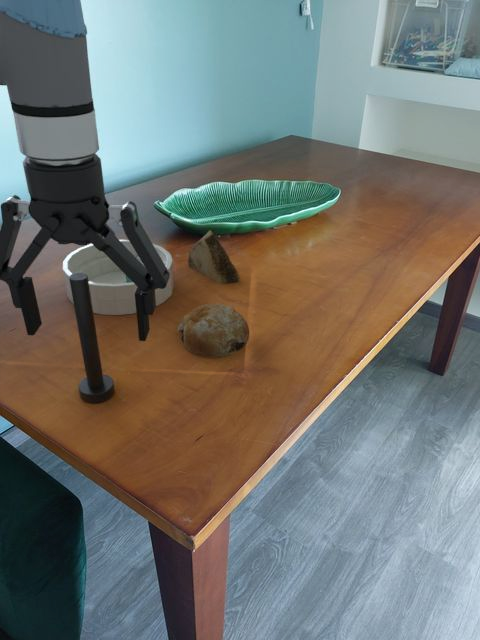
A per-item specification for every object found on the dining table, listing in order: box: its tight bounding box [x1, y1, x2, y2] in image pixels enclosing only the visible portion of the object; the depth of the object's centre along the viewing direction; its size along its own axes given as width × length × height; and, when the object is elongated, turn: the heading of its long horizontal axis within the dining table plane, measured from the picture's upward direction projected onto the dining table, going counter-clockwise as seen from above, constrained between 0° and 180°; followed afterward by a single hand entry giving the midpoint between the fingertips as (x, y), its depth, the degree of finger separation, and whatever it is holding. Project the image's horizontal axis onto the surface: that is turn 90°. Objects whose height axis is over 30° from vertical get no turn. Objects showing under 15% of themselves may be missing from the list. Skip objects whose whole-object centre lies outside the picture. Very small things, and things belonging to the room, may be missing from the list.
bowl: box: [62, 239, 175, 316], centre depth 91 cm, size 18×18×6 cm
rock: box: [187, 230, 241, 285], centre depth 97 cm, size 11×9×10 cm
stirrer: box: [69, 273, 116, 405], centre depth 65 cm, size 4×4×17 cm
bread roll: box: [177, 303, 250, 359], centre depth 79 cm, size 10×10×8 cm
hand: (89, 332), depth 66 cm, fingers open, 13 cm apart
